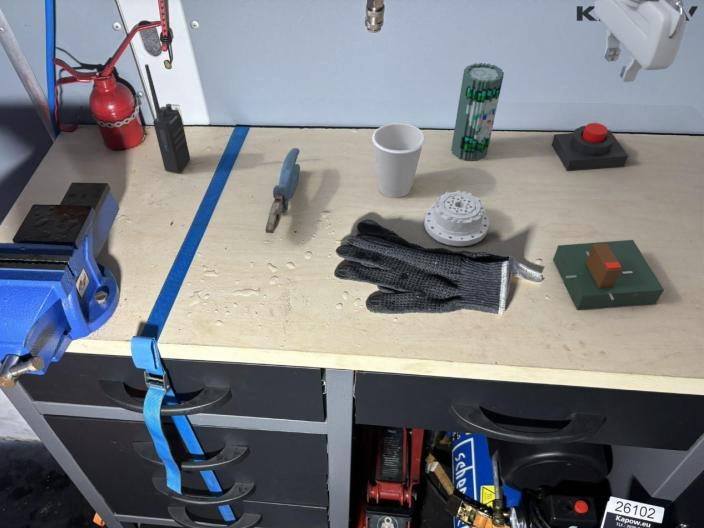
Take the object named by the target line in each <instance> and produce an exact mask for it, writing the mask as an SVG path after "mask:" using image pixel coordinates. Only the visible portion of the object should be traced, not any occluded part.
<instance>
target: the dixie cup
mask: <svg viewBox="0 0 704 528" xmlns="http://www.w3.org/2000/svg"><path fill="white" fill-rule="evenodd" d="M371 139H372V143H373V146H374V147H373V148H374V157H375V167H376V178H377V180H376V181H377V189H378V191H379V193H380V194H382V195H383V196H385V197H388V198H390V199H391V198H392V199H397V198H398V199H399V198H403V197H406V196H407V195H409V194H410V192H411V191H412V187H413V183H414V180H415V176H416V172H417V169H418V164H419V161H420V157H421V153H422V149H423V146H424V145H425V142H426V136H425V133H424V132H423V131H422V130H421V129H420V128H418V127H417V126H414V125H412V124H409V123H404V122H392V123H388V124H387V123H386V124H384V125H382V126H379V127H378V128H376V129H375V131H374V132H373V134H372V138H371Z"/></svg>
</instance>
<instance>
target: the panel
mask: <svg viewBox="0 0 704 528" xmlns="http://www.w3.org/2000/svg"><path fill="white" fill-rule="evenodd" d="M598 244H608V246H609V247H610V249H611V251H612V253H613V254H614V256H615V258H616V260H617V261H618V262H619V264H620V266H621V268H622V271H621V273H620V275H619V277H618V279H617V281H616V283H615V285H614V287H612V288H599V287H598V285H597V283H596V282H595V280H594V278H593V276H592V274H591V272H590V270H589V268H588V266H587V264H586V261H587V258H588V256H589V254H590V251H591V249H592V247H593V245H598ZM552 261H553V263H554V266H555V267H556V270H557V271H558V274H559V275H560V278H561V280H562V282H563V284H564V286H565V288H566V291H567V293H568V295H569V297H570V299H571V301H572V303H573V305H574V307H575V309H576V310H577V311H583V310H597V309H609V308H622V307H623V308H624V307H637V306H648V305H649V306H650V305H651V306H652V305H656V304H657V303H658V301H659V299H660V298H661V296H662V295H663V292H664V291H665V288H664V286H662V284H661V282H660V281H659V278H658V277H657V275H656V274H655V272H654V271H653V270H652V268H651V266H650V265H649V263H648V261H647V260H646V258H645V256H644V254H643V253H642V252H641V250H640V249H639V247H638V245H637V243H636V241H635V240H634V239H625V240H612V241H598V242H585V243H583V242H582V243H572V244H571V243H570V244H558V245H557V247H556V250H555V252H554V256H553V258H552Z"/></svg>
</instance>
